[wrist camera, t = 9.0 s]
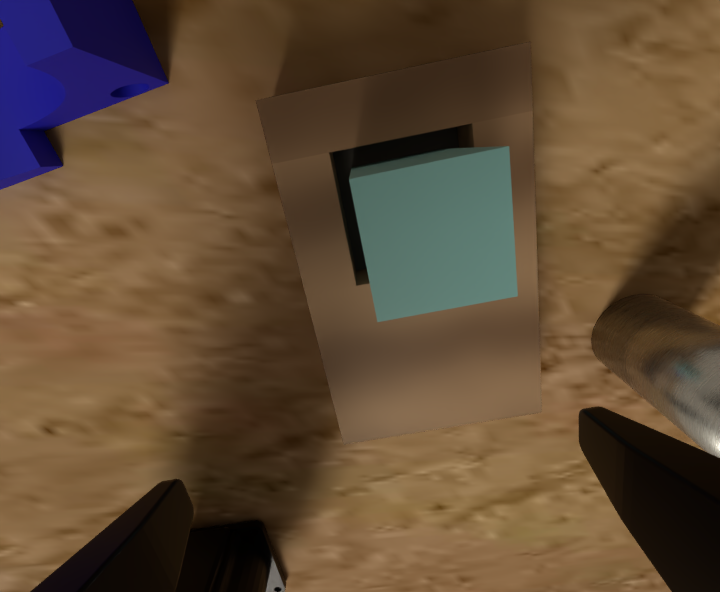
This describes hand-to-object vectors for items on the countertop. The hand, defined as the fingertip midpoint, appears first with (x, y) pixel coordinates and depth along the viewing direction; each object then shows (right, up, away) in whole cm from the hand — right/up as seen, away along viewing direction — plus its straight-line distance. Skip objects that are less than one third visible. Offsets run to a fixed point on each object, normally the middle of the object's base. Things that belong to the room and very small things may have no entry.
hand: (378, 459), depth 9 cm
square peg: (+2, +8, +9) cm, 12 cm away
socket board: (+2, +5, +10) cm, 12 cm away
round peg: (+14, +2, +12) cm, 18 cm away
